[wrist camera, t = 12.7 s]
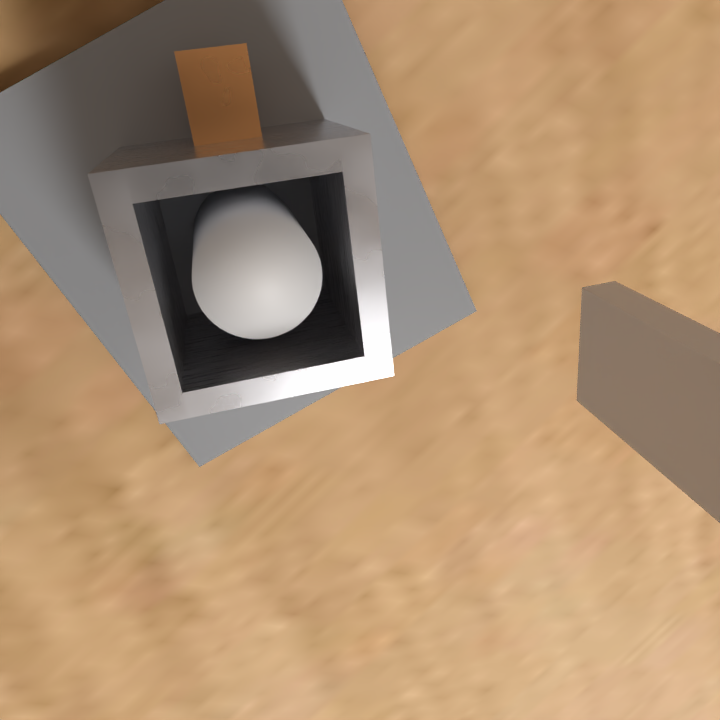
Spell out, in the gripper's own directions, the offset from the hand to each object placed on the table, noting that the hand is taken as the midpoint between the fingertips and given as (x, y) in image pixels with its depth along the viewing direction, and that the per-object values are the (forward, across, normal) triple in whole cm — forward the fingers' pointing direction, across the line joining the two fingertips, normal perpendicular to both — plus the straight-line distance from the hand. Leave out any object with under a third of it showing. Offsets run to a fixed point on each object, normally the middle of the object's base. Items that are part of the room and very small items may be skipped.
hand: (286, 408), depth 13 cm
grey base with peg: (+18, 0, 0) cm, 18 cm away
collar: (+17, 0, +1) cm, 17 cm away
